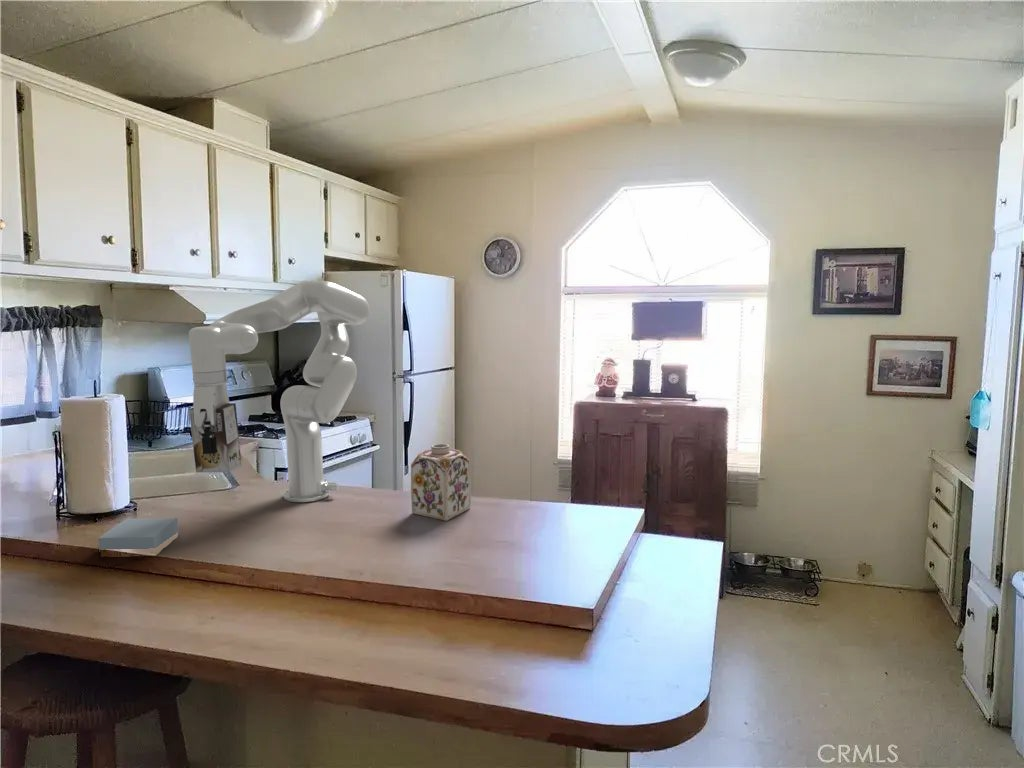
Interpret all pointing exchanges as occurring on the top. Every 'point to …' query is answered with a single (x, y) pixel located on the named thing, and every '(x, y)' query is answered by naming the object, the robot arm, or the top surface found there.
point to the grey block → (139, 533)
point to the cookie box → (219, 442)
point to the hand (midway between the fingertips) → (217, 448)
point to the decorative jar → (440, 483)
